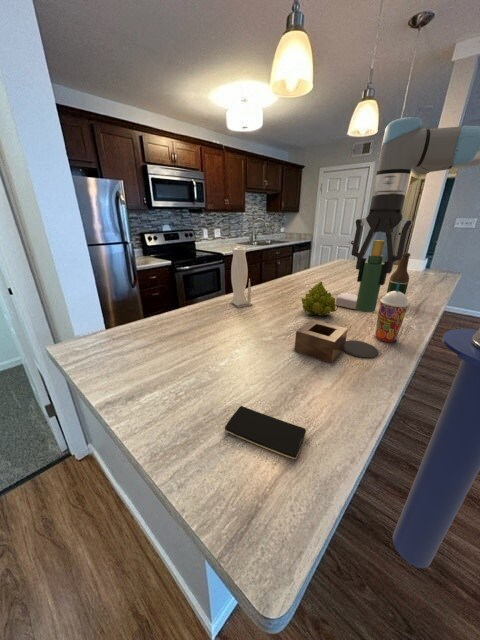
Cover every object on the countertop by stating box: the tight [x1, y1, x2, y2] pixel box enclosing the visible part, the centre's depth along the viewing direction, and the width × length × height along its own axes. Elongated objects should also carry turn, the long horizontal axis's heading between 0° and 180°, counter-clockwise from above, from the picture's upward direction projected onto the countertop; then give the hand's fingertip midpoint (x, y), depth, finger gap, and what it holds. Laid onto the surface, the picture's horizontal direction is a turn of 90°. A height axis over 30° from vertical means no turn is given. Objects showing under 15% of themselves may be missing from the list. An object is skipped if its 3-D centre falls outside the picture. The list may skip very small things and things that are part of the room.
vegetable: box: [301, 281, 339, 317], centre depth 112 cm, size 15×16×15 cm
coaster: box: [342, 340, 379, 359], centre depth 84 cm, size 11×11×1 cm
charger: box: [335, 292, 358, 311], centre depth 121 cm, size 5×9×15 cm
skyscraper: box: [230, 243, 253, 309], centre depth 119 cm, size 8×8×28 cm
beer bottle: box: [386, 252, 411, 296], centre depth 123 cm, size 8×8×24 cm
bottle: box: [355, 239, 385, 313], centre depth 75 cm, size 5×5×20 cm
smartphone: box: [224, 405, 307, 460], centre depth 52 cm, size 7×1×15 cm
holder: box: [293, 318, 349, 364], centre depth 83 cm, size 12×12×7 cm
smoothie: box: [374, 283, 410, 343], centre depth 88 cm, size 8×8×20 cm
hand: (370, 282), depth 76 cm, fingers closed on bottle, 5 cm apart
